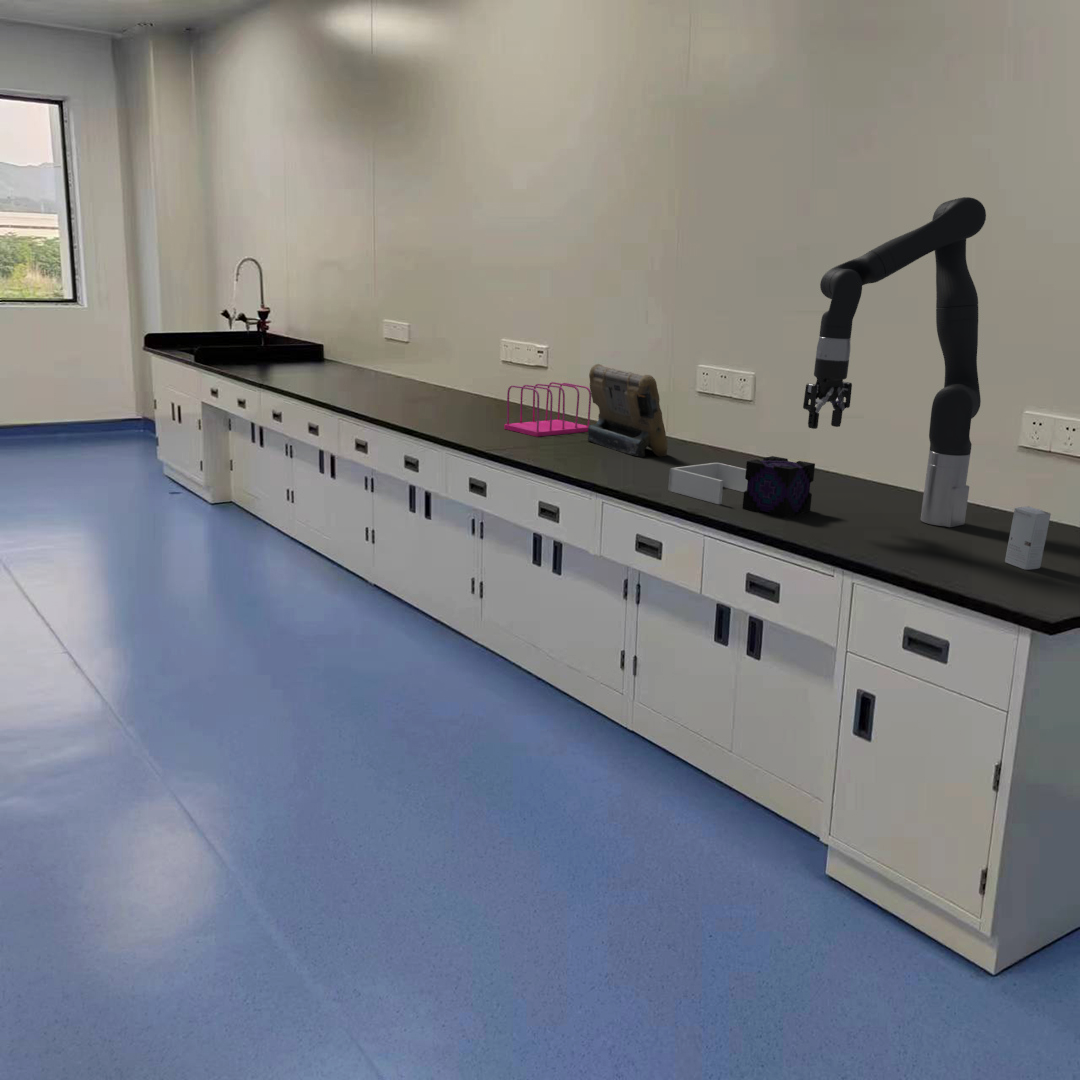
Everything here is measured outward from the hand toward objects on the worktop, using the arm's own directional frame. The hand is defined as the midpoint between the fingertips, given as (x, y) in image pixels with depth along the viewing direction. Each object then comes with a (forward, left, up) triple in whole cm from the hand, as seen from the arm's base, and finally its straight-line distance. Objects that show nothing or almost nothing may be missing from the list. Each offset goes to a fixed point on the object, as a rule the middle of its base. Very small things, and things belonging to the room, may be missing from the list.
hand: (824, 427), depth 262 cm
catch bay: (+32, 0, -22) cm, 39 cm away
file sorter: (+132, -23, -23) cm, 135 cm away
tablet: (+94, -24, -23) cm, 99 cm away
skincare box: (-49, -7, -23) cm, 55 cm away
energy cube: (+12, 0, -23) cm, 25 cm away
